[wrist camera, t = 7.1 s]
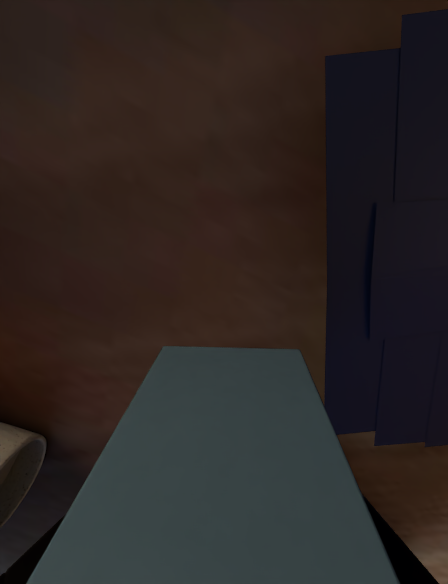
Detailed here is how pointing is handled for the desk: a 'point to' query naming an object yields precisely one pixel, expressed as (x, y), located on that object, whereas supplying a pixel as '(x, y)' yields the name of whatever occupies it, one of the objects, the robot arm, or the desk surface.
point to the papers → (389, 237)
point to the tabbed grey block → (220, 484)
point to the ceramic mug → (17, 466)
